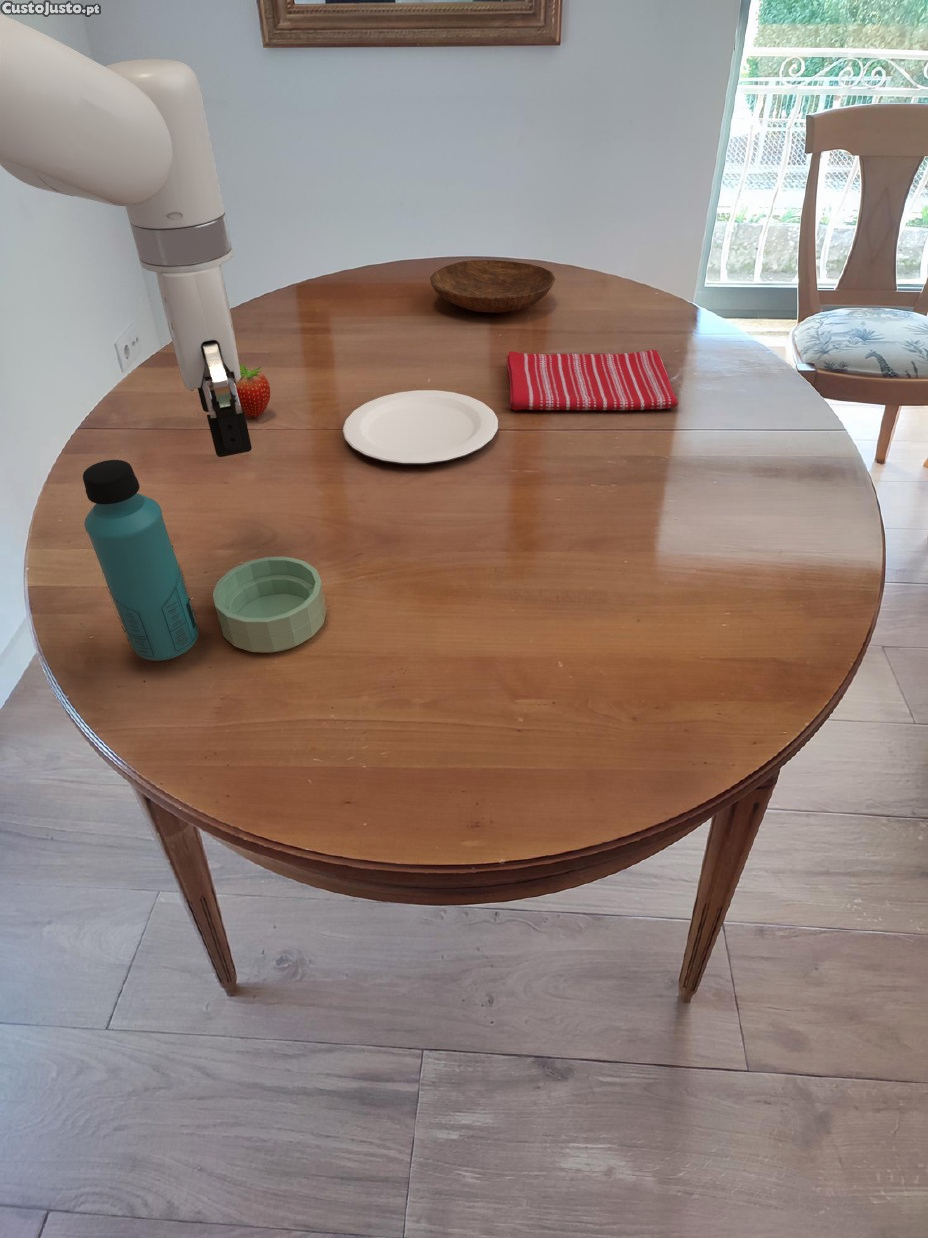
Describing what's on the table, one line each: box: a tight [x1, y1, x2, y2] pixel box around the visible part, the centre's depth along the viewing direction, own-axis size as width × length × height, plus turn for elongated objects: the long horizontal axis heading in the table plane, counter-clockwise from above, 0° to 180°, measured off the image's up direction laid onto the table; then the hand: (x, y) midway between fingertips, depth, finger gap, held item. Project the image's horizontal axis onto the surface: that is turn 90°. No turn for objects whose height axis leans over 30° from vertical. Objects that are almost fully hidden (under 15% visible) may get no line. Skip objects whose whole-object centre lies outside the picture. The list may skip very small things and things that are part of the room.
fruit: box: [235, 363, 271, 419], centre depth 116 cm, size 5×5×8 cm
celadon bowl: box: [212, 556, 327, 654], centre depth 82 cm, size 10×10×4 cm
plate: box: [342, 389, 499, 466], centre depth 113 cm, size 21×21×2 cm
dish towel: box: [506, 349, 679, 411], centre depth 122 cm, size 17×24×3 cm
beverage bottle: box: [82, 459, 200, 662], centre depth 74 cm, size 6×7×20 cm
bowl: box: [429, 259, 556, 314], centre depth 148 cm, size 20×22×5 cm
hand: (226, 429), depth 80 cm, fingers open, 9 cm apart
